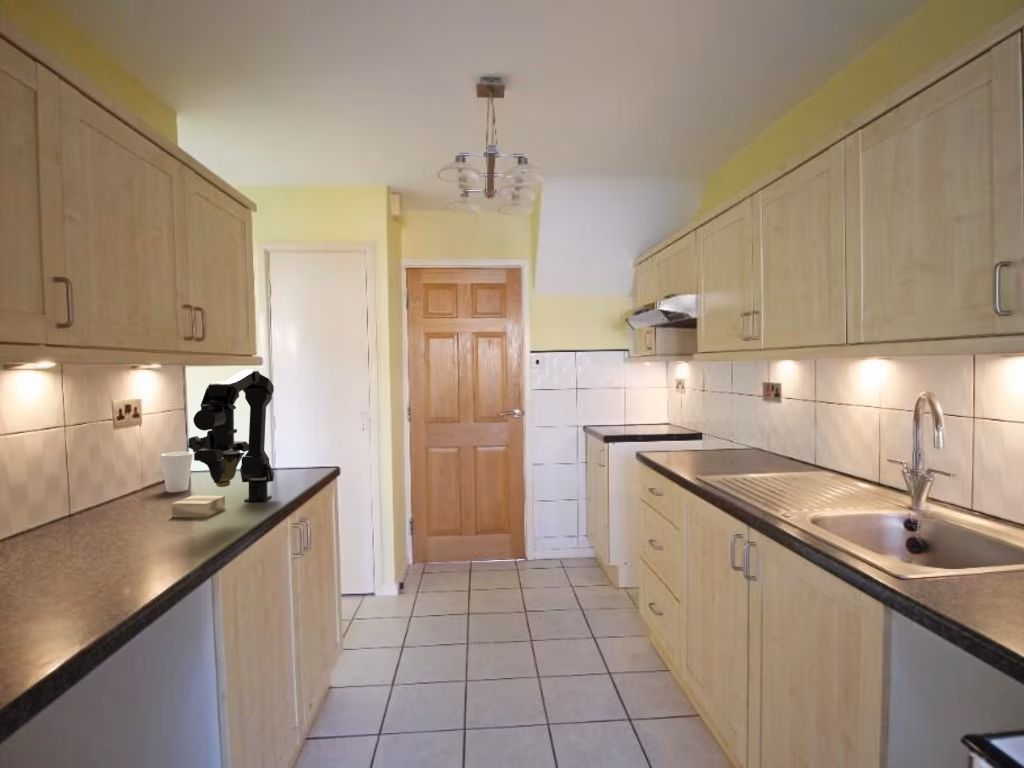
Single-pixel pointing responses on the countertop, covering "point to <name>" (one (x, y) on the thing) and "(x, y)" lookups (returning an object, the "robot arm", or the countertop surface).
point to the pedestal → (198, 506)
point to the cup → (227, 471)
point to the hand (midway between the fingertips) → (223, 480)
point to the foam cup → (176, 470)
